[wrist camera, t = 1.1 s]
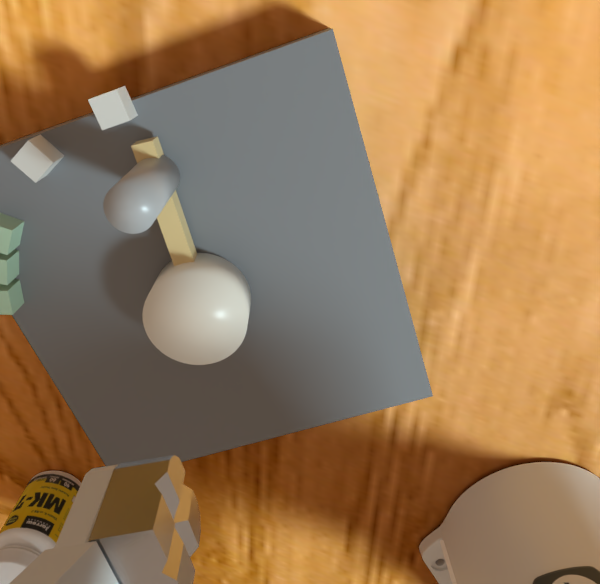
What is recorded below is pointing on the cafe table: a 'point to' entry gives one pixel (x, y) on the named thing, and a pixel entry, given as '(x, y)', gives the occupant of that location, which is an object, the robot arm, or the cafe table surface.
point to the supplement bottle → (35, 521)
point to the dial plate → (218, 241)
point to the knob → (179, 267)
